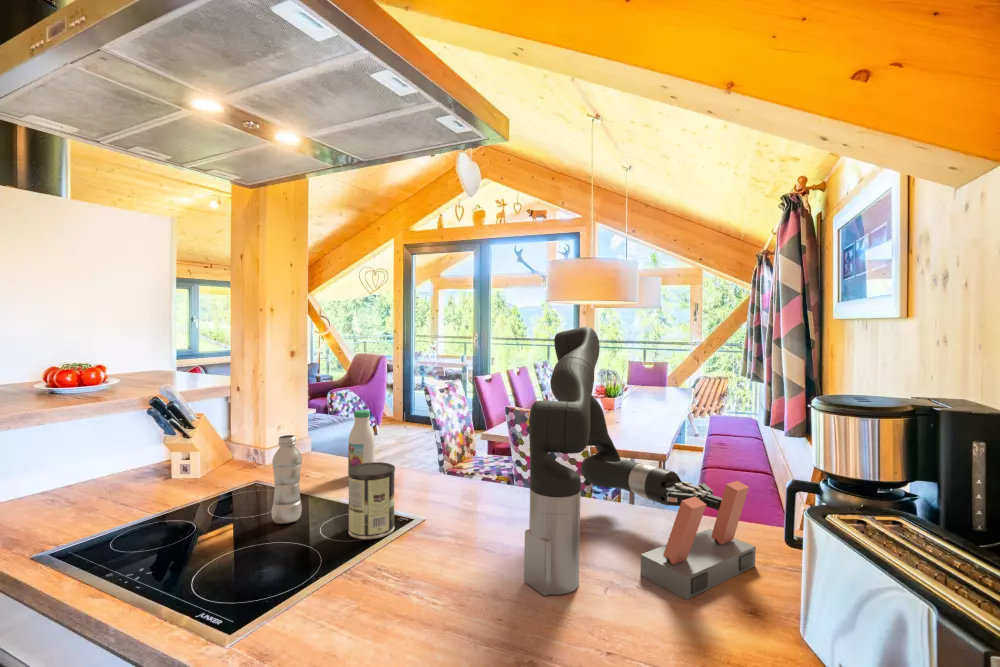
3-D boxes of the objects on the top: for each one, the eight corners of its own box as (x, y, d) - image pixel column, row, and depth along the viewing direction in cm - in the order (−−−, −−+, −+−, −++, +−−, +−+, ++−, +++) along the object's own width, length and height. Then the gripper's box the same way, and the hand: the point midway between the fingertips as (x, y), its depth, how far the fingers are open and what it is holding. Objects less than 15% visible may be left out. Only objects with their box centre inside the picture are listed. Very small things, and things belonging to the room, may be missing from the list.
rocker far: (720, 546, 99) (737, 490, 97) (709, 538, 101) (725, 483, 99) (732, 541, 102) (749, 487, 99) (721, 534, 104) (737, 480, 101)
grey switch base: (687, 600, 87) (688, 577, 87) (640, 575, 95) (640, 554, 95) (756, 566, 99) (757, 546, 99) (709, 547, 108) (709, 528, 107)
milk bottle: (367, 471, 158) (368, 407, 157) (378, 477, 152) (379, 411, 152) (344, 475, 153) (344, 410, 153) (354, 482, 147) (355, 414, 147)
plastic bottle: (265, 523, 117) (265, 438, 116) (289, 514, 123) (289, 432, 122) (284, 529, 114) (284, 441, 113) (308, 519, 120) (308, 435, 119)
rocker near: (672, 566, 91) (692, 508, 88) (661, 557, 93) (681, 500, 90) (686, 561, 93) (706, 504, 90) (675, 551, 95) (694, 495, 92)
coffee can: (371, 517, 121) (371, 459, 121) (403, 527, 116) (404, 466, 116) (337, 532, 112) (338, 470, 112) (371, 543, 107) (371, 478, 107)
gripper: (634, 471, 111) (705, 492, 97) (672, 462, 119) (743, 481, 105) (634, 505, 111) (705, 531, 97) (672, 494, 119) (742, 517, 105)
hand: (724, 505), depth 101 cm, fingers closed
